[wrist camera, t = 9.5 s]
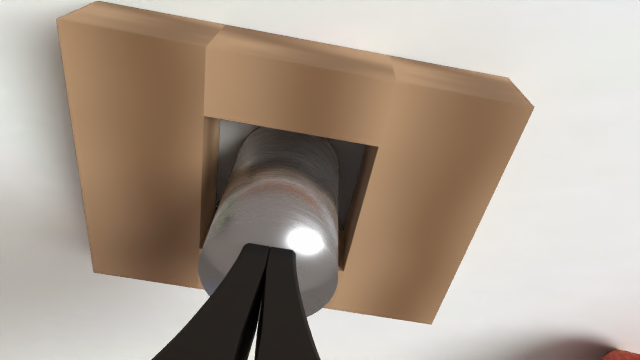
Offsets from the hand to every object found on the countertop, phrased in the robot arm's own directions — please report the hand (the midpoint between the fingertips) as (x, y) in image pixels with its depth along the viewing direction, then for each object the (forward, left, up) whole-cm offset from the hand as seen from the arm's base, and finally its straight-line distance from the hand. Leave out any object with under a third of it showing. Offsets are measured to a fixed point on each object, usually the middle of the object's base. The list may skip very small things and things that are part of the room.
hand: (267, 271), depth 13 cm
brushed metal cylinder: (0, 0, -6) cm, 6 cm away
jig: (0, 0, -6) cm, 6 cm away
